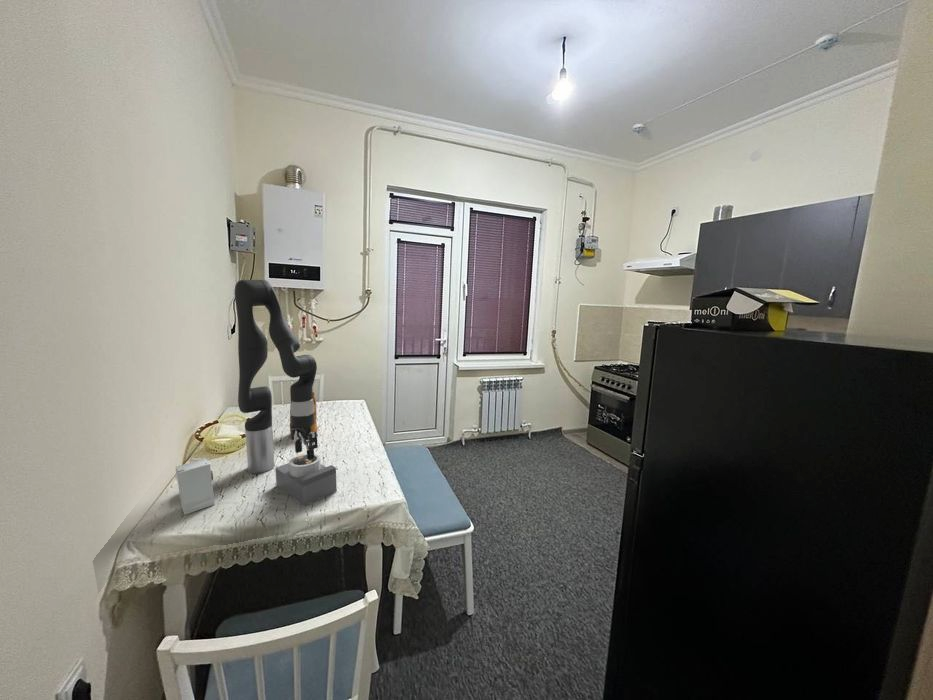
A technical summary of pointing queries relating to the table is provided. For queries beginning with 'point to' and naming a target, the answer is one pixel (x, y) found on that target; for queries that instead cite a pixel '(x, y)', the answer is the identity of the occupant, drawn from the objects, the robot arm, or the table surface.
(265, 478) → the table surface
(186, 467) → the skincare box
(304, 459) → the grey dome
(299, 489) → the camera body
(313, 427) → the coffee package
